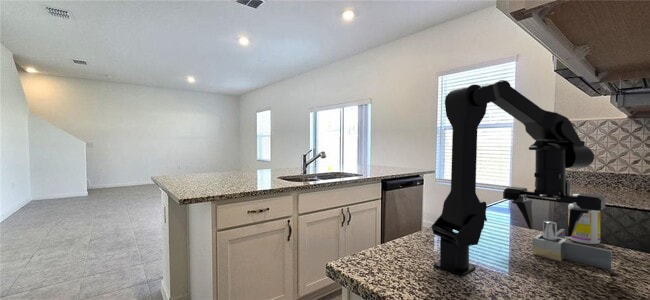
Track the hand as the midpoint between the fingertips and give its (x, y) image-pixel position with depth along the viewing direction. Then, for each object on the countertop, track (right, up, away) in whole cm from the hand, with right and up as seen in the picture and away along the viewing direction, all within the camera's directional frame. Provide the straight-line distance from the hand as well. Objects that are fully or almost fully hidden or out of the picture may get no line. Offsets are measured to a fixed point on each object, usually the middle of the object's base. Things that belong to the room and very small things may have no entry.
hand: (549, 232), depth 69 cm
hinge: (+6, -5, 0) cm, 8 cm away
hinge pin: (0, -6, 0) cm, 6 cm away
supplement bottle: (+18, -6, +10) cm, 21 cm away
